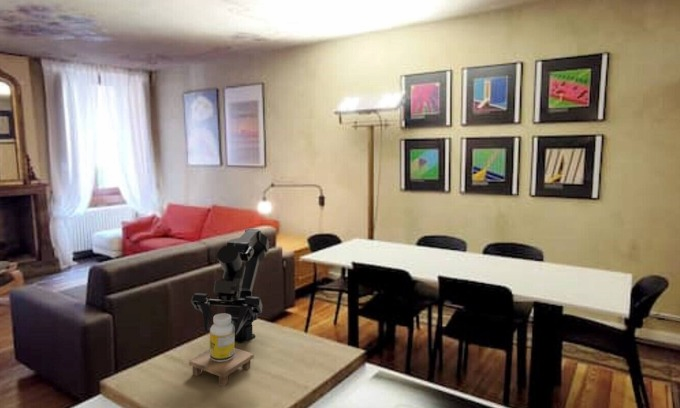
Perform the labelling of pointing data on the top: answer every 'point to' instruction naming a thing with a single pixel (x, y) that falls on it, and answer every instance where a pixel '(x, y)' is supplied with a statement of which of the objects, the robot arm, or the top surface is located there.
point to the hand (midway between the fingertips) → (220, 333)
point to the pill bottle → (222, 338)
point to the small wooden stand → (221, 364)
